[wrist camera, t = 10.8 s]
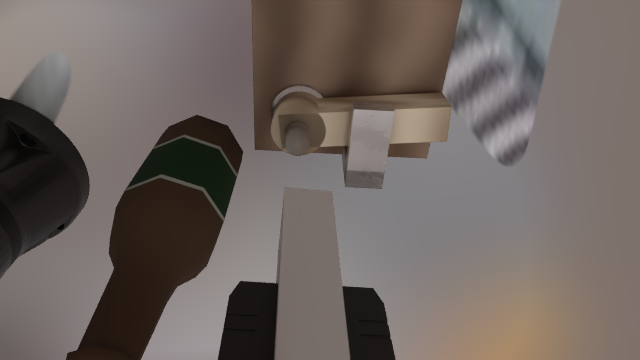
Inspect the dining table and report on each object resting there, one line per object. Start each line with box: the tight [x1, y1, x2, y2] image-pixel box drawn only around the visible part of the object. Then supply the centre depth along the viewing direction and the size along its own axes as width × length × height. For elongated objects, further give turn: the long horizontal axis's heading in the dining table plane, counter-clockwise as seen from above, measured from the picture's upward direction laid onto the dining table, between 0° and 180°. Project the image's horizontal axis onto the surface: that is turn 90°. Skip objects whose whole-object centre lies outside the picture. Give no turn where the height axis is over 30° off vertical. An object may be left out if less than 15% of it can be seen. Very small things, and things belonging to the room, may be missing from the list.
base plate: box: [252, 0, 462, 158], centre depth 35 cm, size 16×19×1 cm
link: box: [271, 91, 451, 156], centre depth 35 cm, size 14×4×5 cm, turn 93°
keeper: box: [271, 84, 395, 189], centre depth 36 cm, size 10×7×6 cm
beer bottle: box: [66, 115, 243, 360], centre depth 31 cm, size 8×8×24 cm
